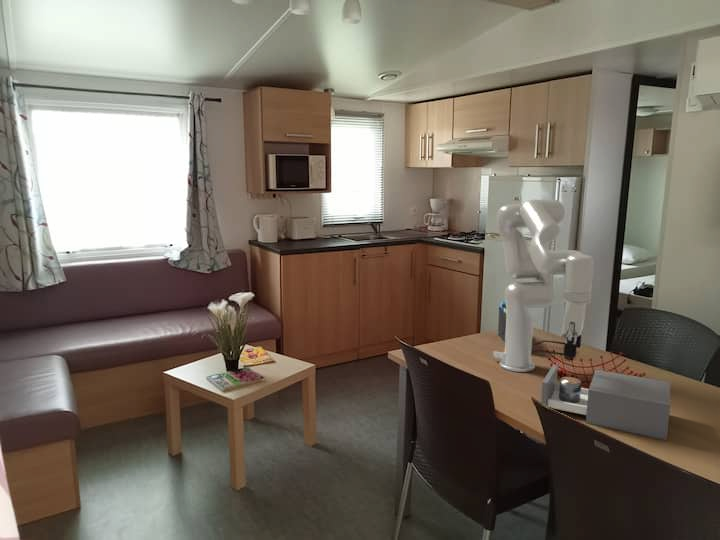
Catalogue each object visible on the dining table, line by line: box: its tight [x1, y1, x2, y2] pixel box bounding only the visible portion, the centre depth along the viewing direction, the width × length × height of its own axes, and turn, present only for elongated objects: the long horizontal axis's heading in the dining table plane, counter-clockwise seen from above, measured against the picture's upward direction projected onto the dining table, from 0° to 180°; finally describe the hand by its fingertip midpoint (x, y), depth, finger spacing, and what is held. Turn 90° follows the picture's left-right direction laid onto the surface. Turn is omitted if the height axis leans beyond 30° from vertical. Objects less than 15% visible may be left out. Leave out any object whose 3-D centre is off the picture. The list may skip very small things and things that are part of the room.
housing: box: [585, 369, 671, 441], centre depth 151 cm, size 20×18×10 cm
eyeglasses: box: [531, 339, 566, 359], centre depth 210 cm, size 15×15×5 cm
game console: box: [497, 301, 506, 343], centre depth 221 cm, size 28×6×15 cm, turn 0°
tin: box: [559, 376, 582, 403], centre depth 159 cm, size 6×6×6 cm
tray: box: [540, 364, 589, 416], centre depth 158 cm, size 19×17×8 cm
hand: (572, 351), depth 157 cm, fingers open, 9 cm apart
